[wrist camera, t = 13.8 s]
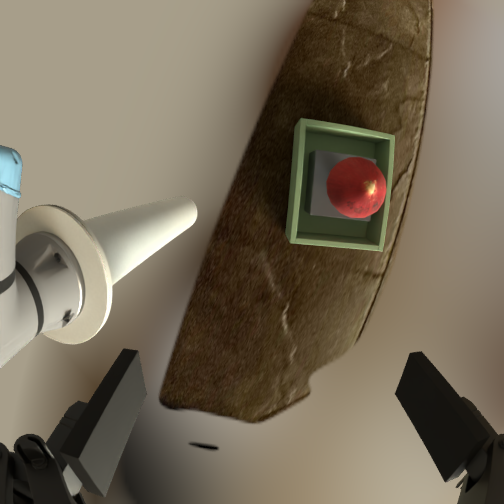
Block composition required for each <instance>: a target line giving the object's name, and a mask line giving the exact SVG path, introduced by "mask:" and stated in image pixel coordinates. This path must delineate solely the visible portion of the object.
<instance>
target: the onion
mask: <svg viewBox="0 0 504 504" xmlns="http://www.w3.org/2000/svg"><path fill="white" fill-rule="evenodd" d="M326 185H327V195H328V197H329V200H330V202H331V204H332V205H333V206H334V207H335V208H336V209H337V210H338V211H339V212H340V213H341V214H344V215H346V216H348V217H350V218H365V217H367V216H369V215H371V214H373V213H375V212H377V211H378V209H379V208H380V206H381V205H382V203H383V202H384V199H385V195H386V180H385V178H384V176H383V174H382V172H381V170H380V169H379V168H378V167H377V166H376V165H375V164H374V163H373V162H372V161H370V160H367V159H365V158H362V157H349V158H346V159H344V160H342V161H340V162H338V163H337V164H336V165H335V166H334V167H333V169H332V170H331V171H330V173H329V176H328V178H327V181H326Z"/></svg>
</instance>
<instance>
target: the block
mask: <svg viewBox="0 0 504 504" xmlns="http://www.w3.org/2000/svg"><path fill="white" fill-rule="evenodd" d="M349 157H361V156H355V155H349V154H343V153H337V152H330V151H323V150H314V151H312V152H310V153H309V163H308V175H307V186H306V197H305V207H304V211H305V212H307V213H308V214H310V215H317V216H326V217H336V218H344V219H353V220H361V221H370V219H371V215H369V216H367V217H365V218H350V217H348V216H346V215H344V214H341V213H340V212H339V211H338V210H337V209H336V208H335V207H334V206H333V205H332V204H331V202H330V200H329V197H328V195H327V185H326V181H327V178H328V176H329V173H330V171H331V170H332V169H333V167H334V166H335V165H336V164H337V163H338V162H340V161H342V160H344V159H346V158H349ZM362 158H365V159H367V160H370V161H372V162H373V163H374V164H375V165H376V159H372V158H367V157H362Z"/></svg>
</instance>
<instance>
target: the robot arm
mask: <svg viewBox="0 0 504 504" xmlns="http://www.w3.org/2000/svg"><path fill="white" fill-rule="evenodd" d="M21 173H22V159H21V156H20V154H19V153H18V152H17V151H16V150H14V149H12V148H9V147H5V146H1V145H0V368H1V367H2V366H3V365H4V364H6V363H7V362H8V361H9V359H11V358H12V357H13V356H14V355H15V354H16V353H18V352H19V351H20V350H21V349H22V348H23V347H24V346H25V345H26V344H27V343H29V342H30V341H31V340H32V339H33V338H34V337H36V336H37V335H38V334H39V333H43V332H47V331H51V330H55V329H60V328H63V327H65V326H67V325H69V324H71V323H72V322H73V321H74V320H75V319H76V318H77V317H78V316H79V315H80V313H81V312H82V309H83V307H84V303H85V296H86V290H85V281H84V277H83V273H82V270H81V267H80V265H79V262H78V260H77V258H76V257H75V255H74V253H73V252H72V250H71V249H70V248H69V246H68V245H67V244H66V243H65V242H64V241H63V240H62V239H60V238H59V237H58V236H56V235H54V234H52V233H49V232H45V231H40V232H35V233H32V234H29V235H27V236H25V237H24V238H23V239H21V240H20V241H19V242H18V243H17V244H16V223H17V212H18V203H19V198H20V197H21V193H20V183H21ZM146 394H147V393H146V388H145V384H144V379H143V374H142V368H141V363H140V357H139V352H138V350H130V349H123V350H122V352H121V353H120V355H119V356H118V358H117V359H116V361H115V362H114V364H113V365H112V367H111V368H110V370H109V371H108V373H107V374H106V376H105V377H104V379H103V380H102V382H101V384H100V385H99V387H98V388H97V390H96V391H95V393H94V394H93V396H92V398H91V399H90V401H89V402H88V403H84V402H81V401H77V402H76V403H75V404H73V405H72V406H71V407H69V408H68V410H67V411H66V413H65V414H64V417H62V419H61V420H60V423H59V424H58V425H57V426H56V428H55V430H54V431H53V433H52V434H51V436H50V438H49V439H48V441H47V442H46V443H45V442H44V440H43V439H42V438H41V437H39V436H38V435H34V434H26V435H23V436H21V437H19V438H18V439H17V440H16V442H15V444H14V451H15V453H14V452H9V450H8V449H7V448H6V446H5V445H4V444H2V443H0V504H86V503H85V501H84V499H83V497H82V494H81V493H80V491H79V490H80V488H81V486H82V485H83V486H84V488H85V489H86V490H87V491H88V492H91V493H94V494H96V495H99V496H102V497H105V496H106V494H107V491H108V488H109V485H110V483H111V480H112V478H113V475H114V472H115V470H116V467H117V464H118V462H119V460H120V457H121V455H122V452H123V450H124V447H125V445H126V442H127V440H128V437H129V435H130V432H131V430H132V428H133V425H134V423H135V420H136V418H137V416H138V413H139V411H140V409H141V406H142V404H143V401H144V399H145V397H146ZM395 395H396V396H397V398H398V400H399V401H400V403H401V405H402V407H403V408H404V410H405V412H406V413H407V415H408V417H409V418H410V420H411V422H412V423H413V425H414V427H415V429H416V430H417V432H418V434H419V436H420V438H421V439H422V441H423V443H424V445H425V446H426V448H427V450H428V452H429V453H430V455H431V457H432V459H433V461H434V463H435V464H436V466H437V468H438V470H439V472H440V474H441V476H442V478H443V479H444V481H445V482H448V481H450V480H453V479H454V478H457V477H459V475H460V474H461V473H462V472H463V471H464V470H465V469H466V470H467V474H466V475H465V476H464V477H463V479H462V480H461V481H460V482H459V483H458V484H457V486H456V488H458V487H459V486H460V485H461V484H462V483H463V485H462V487H461V492H460V496H459V500H458V503H457V504H504V434H500V435H498V434H497V433H496V432H495V430H494V429H493V428H492V426H491V425H490V424H489V423H488V422H487V420H486V419H485V418H484V416H482V415H481V413H480V411H479V410H477V408H476V407H475V405H474V404H473V403H472V402H471V401H469V400H468V399H466V398H465V397H460V396H459V395H458V394H457V392H455V390H454V389H453V388H452V387H451V385H450V384H449V383H448V382H447V381H446V379H445V378H444V377H443V376H442V374H441V373H440V372H439V371H438V370H437V369H436V367H435V366H434V365H433V364H432V363H431V362H430V361H429V359H427V357H426V356H425V355H424V354H423V353H422V351H421V352H413V353H410V354H409V357H408V360H407V363H406V366H405V368H404V371H403V374H402V377H401V379H400V382H399V385H398V387H397V390H396V393H395Z"/></svg>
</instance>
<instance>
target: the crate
mask: <svg viewBox="0 0 504 504" xmlns="http://www.w3.org/2000/svg"><path fill="white" fill-rule="evenodd" d="M394 141H395V136H394V135H390V134H386V133H382V132H377V131H373V130H368V129H363V128H358V127H353V126H348V125H342V124H336V123H330V122H324V121H317V120H310V119H303V118H301V119H300V120H299V122H298V123H297V124H296V126H295V129H294V143H293V156H292V168H291V180H290V191H289V202H288V213H287V223H286V233H285V234H286V236H287V238H288V240H289V242H290V243H297V244H309V245H320V246H332V247H343V248H354V249H365V250H375V251H383V246H384V240H385V233H386V226H387V219H388V211H389V203H390V194H391V184H392V173H393V159H394ZM314 150H323V151H330V152H337V153H343V154H349V155H355V156H361V157H367V158H372V159H376V166H377V167H378V168H379V169H380V170H381V172H382V174H383V176H384V178H385V180H386V195H385V199H384V202H383V203H382V205H381V206H380V208H379V209H378V211H377V212H375V213H373V214H371V219H370V221H361V220H353V219H344V218H336V217H326V216H317V215H310V214H308V213H307V212H305V211H304V207H305V197H306V186H307V175H308V163H309V153H310V152H312V151H314Z"/></svg>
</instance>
